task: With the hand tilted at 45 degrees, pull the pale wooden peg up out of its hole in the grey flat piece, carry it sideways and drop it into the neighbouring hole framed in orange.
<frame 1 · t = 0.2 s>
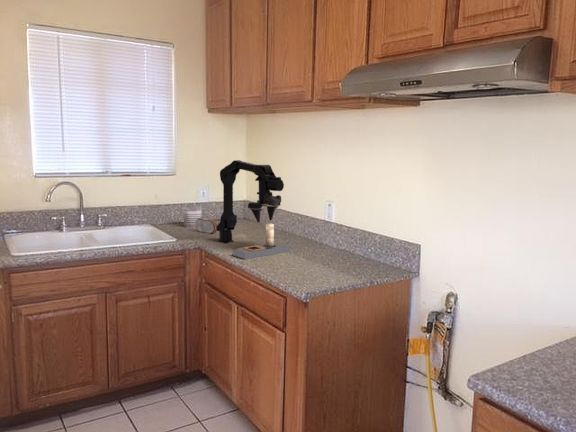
hand: (264, 221, 244), 15 cm above the counter, fingers open, 9 cm apart
peg: (269, 251, 242), resting in grey flat piece
grey flat piece: (261, 253, 239), on the counter
can: (192, 226, 306), on the counter
tin: (206, 233, 287), on the counter
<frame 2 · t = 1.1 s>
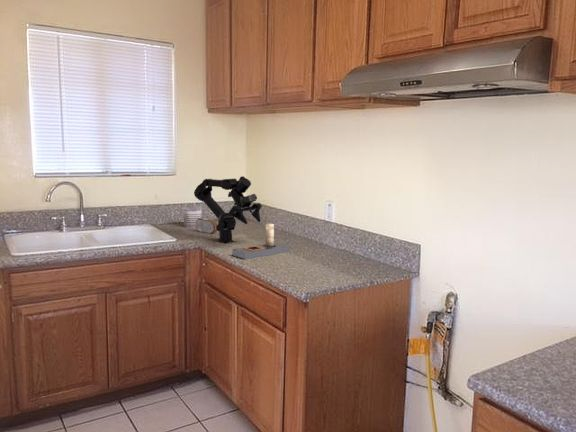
hand: (253, 222, 247), 13 cm above the counter, fingers open, 9 cm apart
nothing on the counter moved.
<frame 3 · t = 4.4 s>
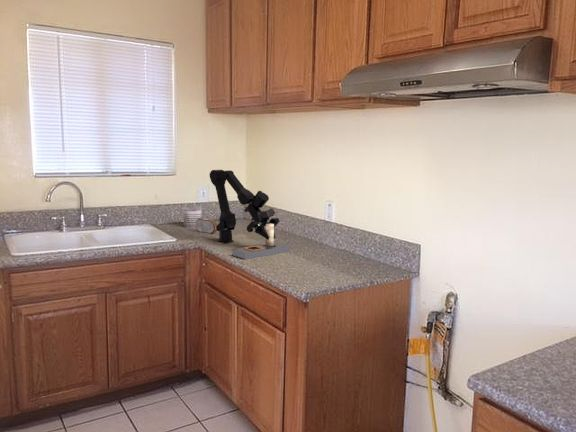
hand: (271, 238, 240), 7 cm above the counter, fingers closed on peg, 4 cm apart
peg: (269, 251, 242), resting in grey flat piece, touching gripper
everything else where it was.
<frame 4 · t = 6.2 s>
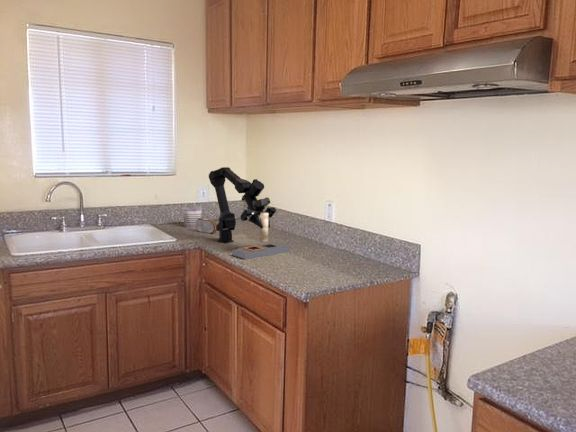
hand: (265, 227, 236), 13 cm above the counter, fingers closed on peg, 4 cm apart
peg: (263, 241, 238), point 6 cm above the counter, touching gripper
everything else where it was.
when the fingers open (8 cm above the counter, at t = 8.3 s): peg stays where it is, resting in grey flat piece.
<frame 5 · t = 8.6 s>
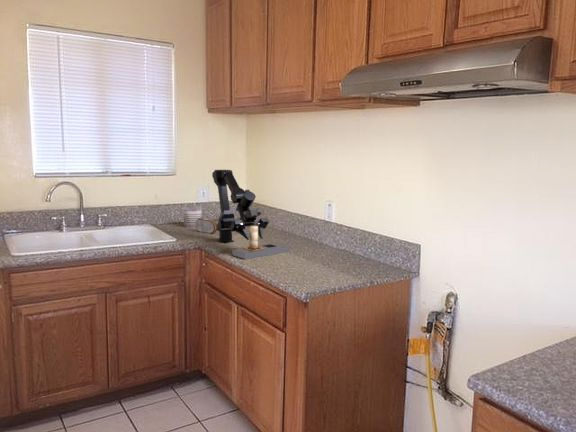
hand: (255, 238, 233), 8 cm above the counter, fingers open, 7 cm apart
peg: (253, 254, 235), resting in grey flat piece
everything else where it was.
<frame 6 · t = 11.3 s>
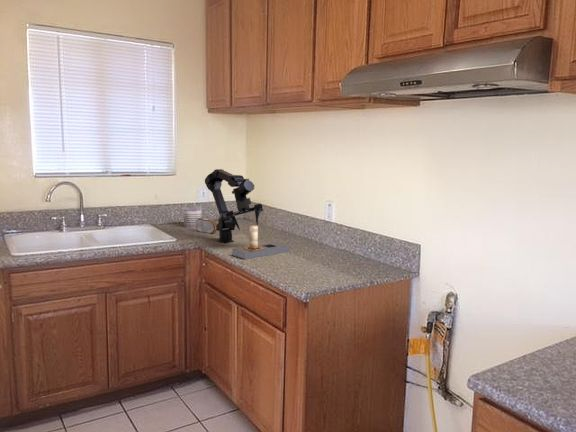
hand: (248, 227, 243), 11 cm above the counter, fingers open, 9 cm apart
nothing on the counter moved.
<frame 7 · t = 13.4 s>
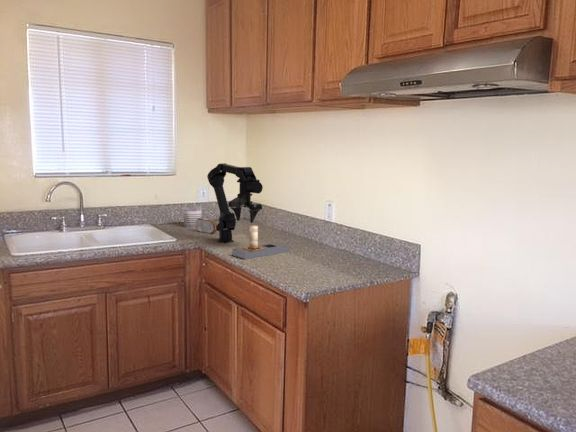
hand: (244, 222, 250), 13 cm above the counter, fingers open, 9 cm apart
nothing on the counter moved.
at the end: peg 0.1 cm from the target spot, resting in grey flat piece; peg tilted 0°; the gripper is holding nothing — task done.
